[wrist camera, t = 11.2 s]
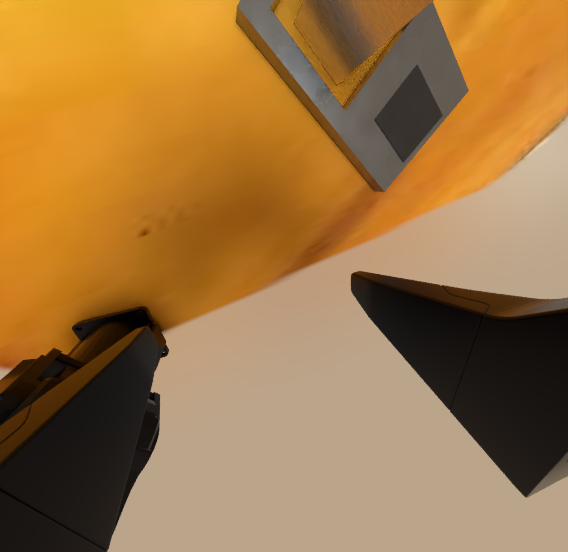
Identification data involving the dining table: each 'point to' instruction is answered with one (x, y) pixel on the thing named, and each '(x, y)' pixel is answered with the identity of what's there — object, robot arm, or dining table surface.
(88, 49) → the dining table surface
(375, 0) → the grey tall block
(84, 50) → the dining table surface
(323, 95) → the grey slotted plate
